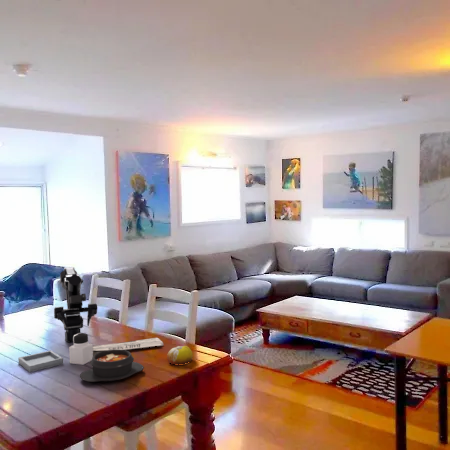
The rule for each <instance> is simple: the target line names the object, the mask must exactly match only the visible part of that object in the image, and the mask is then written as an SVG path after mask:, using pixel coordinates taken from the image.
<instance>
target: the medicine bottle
mask: <svg viewBox="0 0 450 450" xmlns="http://www.w3.org/2000/svg"><path fill="white" fill-rule="evenodd" d="M72 343H73V345H71V346H69V347H68V350H69V351H68V353H69V364H74V365H75V364H76V365H85V364H88V363H90V362H91V360H92V358H93V346H94V344H93V343H89V335H88V334H87V333H86V332H80V333H78V334H76V335H74V336H73V342H72Z"/></svg>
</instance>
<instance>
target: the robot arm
mask: <svg viewBox="0 0 450 450" xmlns="http://www.w3.org/2000/svg"><path fill="white" fill-rule="evenodd" d="M75 269H76V268H75V267H74V266H67V267H63V270H62V271H61V272H60V273H59V274H60V276H59V277H60V278H59V280H60V281H59V282H60V284H61V286H62V287H61V288H63V290H65V298H66V307H67V308H65V309H64V306H55V307H54V309H53V317H54V319H55V320H56V319H57V320H58V321H60V322H61V323H62V324H63V329H64V341H66V342H68V343H70V344H71V343H74V342H73V336H74V335H76V334H78V333H81V329H83V328H84V318H83V316H82V315H81V313H87V319H86V323H87V327H90V322H91V319H92V317H94V316H95V315H97V313H98V304H97V303H88V304H87V306H85V307H83V304H84V303H83V302H86V301H87V295H86V293H81V289H82V288H81V287H82V284H83V283H84V280H83V278H82V277H81V276H80V274H78V272H77V270H75Z"/></svg>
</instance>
